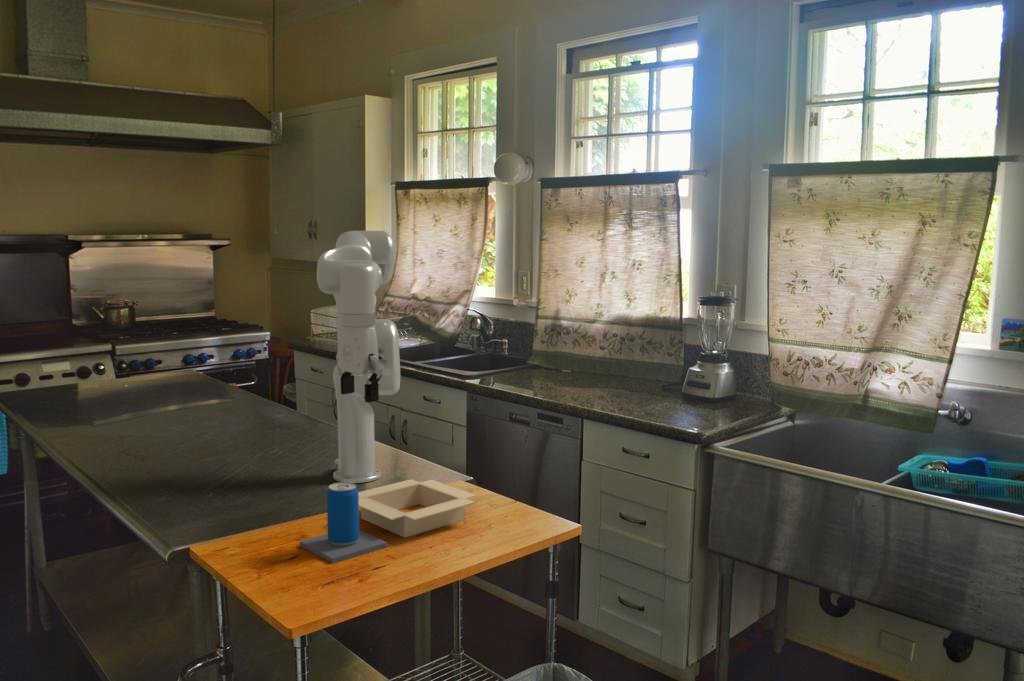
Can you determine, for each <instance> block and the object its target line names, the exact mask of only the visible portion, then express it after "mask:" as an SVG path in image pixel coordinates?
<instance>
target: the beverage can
mask: <svg viewBox="0 0 1024 681" xmlns="http://www.w3.org/2000/svg"><path fill="white" fill-rule="evenodd" d="M358 492H359V489H358V488H357V484H356V483H349V482H335V483H332V484H330V485H329V486H328V489H327V492H326V514H327V515H326V517H327V518H326V520H327V521H326V522H327V534H328V541H329V542H331V543H332V544H333V545H336V546H347V545H351V544H353V543H355V542H356V541H357V540H358V539H359V530H360V509H359V508H360V507H359V498H358Z"/></svg>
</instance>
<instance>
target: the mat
mask: <svg viewBox="0 0 1024 681" xmlns="http://www.w3.org/2000/svg"><path fill="white" fill-rule="evenodd" d="M299 546H300V547H302V548H303V549H305V550H306V551H309V552H311V553H313V554H314V555H317V556H318V557H320V558H322V559H324V560H326V561H328V562H330V563H332V564H335V563H339V562H342V561H345V560H349V559H352V558H355V557H359V556H362V555H365V554H368V553H373V552H375V551H378V550H381V549H385V548H388V542H387V541H384V540H383V539H380V538H379V537H376V536H374V535H372V534H369V533H367V532H365V531H363V530H362V529H359V539H358V540H357V541H356V542H355V543H353V544H351V545H347V546H336V545H333V544H332V543H331V542H329V541H328V533H325V534H322V535H321V534H320V535H317V536H313V537H311V538H307V539H306V538H305V539H303V540H300V541H299Z"/></svg>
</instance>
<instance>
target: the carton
mask: <svg viewBox="0 0 1024 681" xmlns="http://www.w3.org/2000/svg"><path fill="white" fill-rule="evenodd" d="M477 496H478V495H477V494H474V493H471V492H469V491H466V490H463V489H460V488H458V487H454V486H452V485H448V484H445V483H443V482H440V481H437V480H434V479H429V480H424V481H417V480H414V479H412V478H411V479H407V480H404V481H403V480H402V481H399V482H395V483H390V484H387V485H382V486H378V487H374V488H370V489H366V490H362V491H358V498H359V508H360V519H362V520H365V521H366V522H369V523H371V524H373V525H376V526H378V527H380V528H382V529H385V530H387V531H389V532H391V533H394V534H395V535H399V536H401V537H403V538H407V537H408V538H409V537H412V536H414V535H417V534H421V533H425V532H428V531H432V530H434V529H438V528H442V527H445V526H448V525H451V524H454V523H455V524H456V523H458V522H463V521H465V520H466V507H468V506H470V505H474V504H476V501H473V500H471V499H472V498H476V497H477ZM418 505H421V506H424V507H422V508H418V509H416V510H411V511H408V512H404V511H401V510H402V509H407V508H411V507H414V506H418Z"/></svg>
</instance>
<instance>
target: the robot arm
mask: <svg viewBox="0 0 1024 681" xmlns="http://www.w3.org/2000/svg"><path fill="white" fill-rule="evenodd" d="M394 243H395V242H394V240H393V237H392V235H391V234H390V233H389V232H387V231H384V230H348V231H346V232H343V233H342V234H340V235H339V237H338V238H337V240H336V242H335V248H332V249H329V250H327V251H324V252H323V253H321V255H320V256H319V258H318V261H317V268H316V280H317V281H316V282H317V285H318V288H319V290H320V291H321V292H323V293H324V294H328V295H333V298H334V300H335V301H334V302H335V304H336V321H337V322H336V324H337V352H336V355H335V358H336V362H337V364H336V365H335V366H334V368H333V372H332V375H333V376H332V381H333V384H334V385H333V386H334V392H335V397H336V398H335V400H336V407H337V408H336V409H337V412H336V413H337V438H338V442H337V443H338V458H336V459H335V460H334V464H336V465H338V466H337V470H335V471H334V472H333V473H332V474H333V476H332V478H333V480H335V481H336V482H338V483H340V482H349V483H354V484H361V483H362V484H363V483H368V482H373V481H376V480H378V479H379V478H381V477H382V476H381V475H382V471H381V470H380V469H379V468H377V467H376V458H375V457H376V455H375V454H376V452H375V451H376V449H375V445H376V444H375V413H374V410H373V408H372V406H371V405H370V403H372V402H377V401H379V400H380V397H379V396H388V395H395V394H397V393H398V392H399V390H400V387H401V379H402V378H401V358H400V340H399V339H400V338H399V330H398V327H397V325H396V323H395V322H394V321H393V320H392V319H386V318H382V319H381V318H376V292H377V291H378V289H379V288H380V286H382V285H384V284H388V283H389V282H390V281H391V279H392V278H393V274H394V264H395V258H396V256H395V254H396V252H395V251H396V248H395V244H394ZM379 356H380V357H381V359H379Z"/></svg>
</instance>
